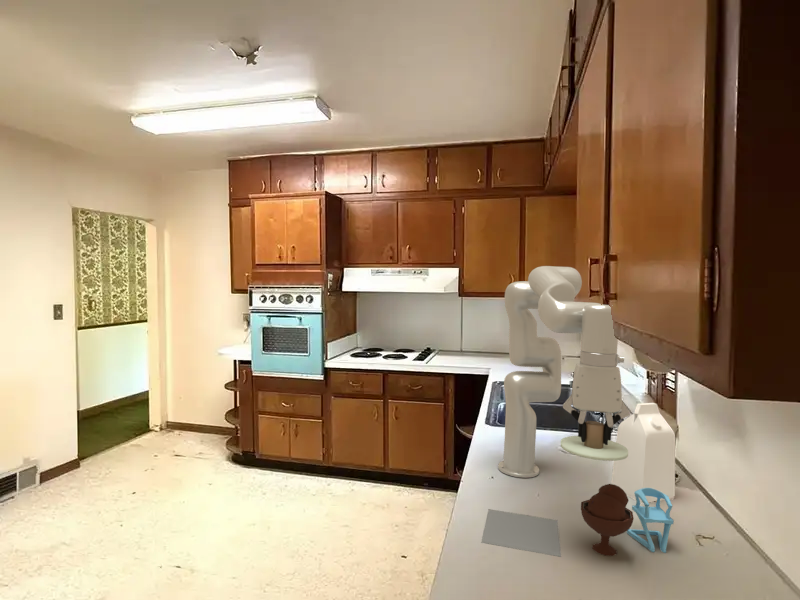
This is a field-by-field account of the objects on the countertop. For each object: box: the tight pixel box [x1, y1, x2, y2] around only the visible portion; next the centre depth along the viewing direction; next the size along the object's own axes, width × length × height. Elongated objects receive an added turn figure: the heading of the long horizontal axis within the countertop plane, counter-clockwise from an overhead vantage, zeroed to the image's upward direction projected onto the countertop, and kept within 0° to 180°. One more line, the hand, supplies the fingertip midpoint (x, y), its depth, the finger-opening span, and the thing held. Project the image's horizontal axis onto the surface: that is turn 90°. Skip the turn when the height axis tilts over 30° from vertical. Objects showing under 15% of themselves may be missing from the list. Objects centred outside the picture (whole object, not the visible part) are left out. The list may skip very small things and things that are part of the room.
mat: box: [480, 508, 562, 558], centre depth 114 cm, size 17×17×1 cm
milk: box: [610, 402, 676, 505], centre depth 139 cm, size 12×12×26 cm
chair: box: [626, 488, 675, 554], centre depth 112 cm, size 8×8×12 cm
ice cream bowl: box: [580, 483, 635, 557], centre depth 107 cm, size 11×11×15 cm
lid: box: [560, 420, 628, 462], centre depth 108 cm, size 14×14×6 cm
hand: (594, 440), depth 108 cm, fingers closed on lid, 4 cm apart
